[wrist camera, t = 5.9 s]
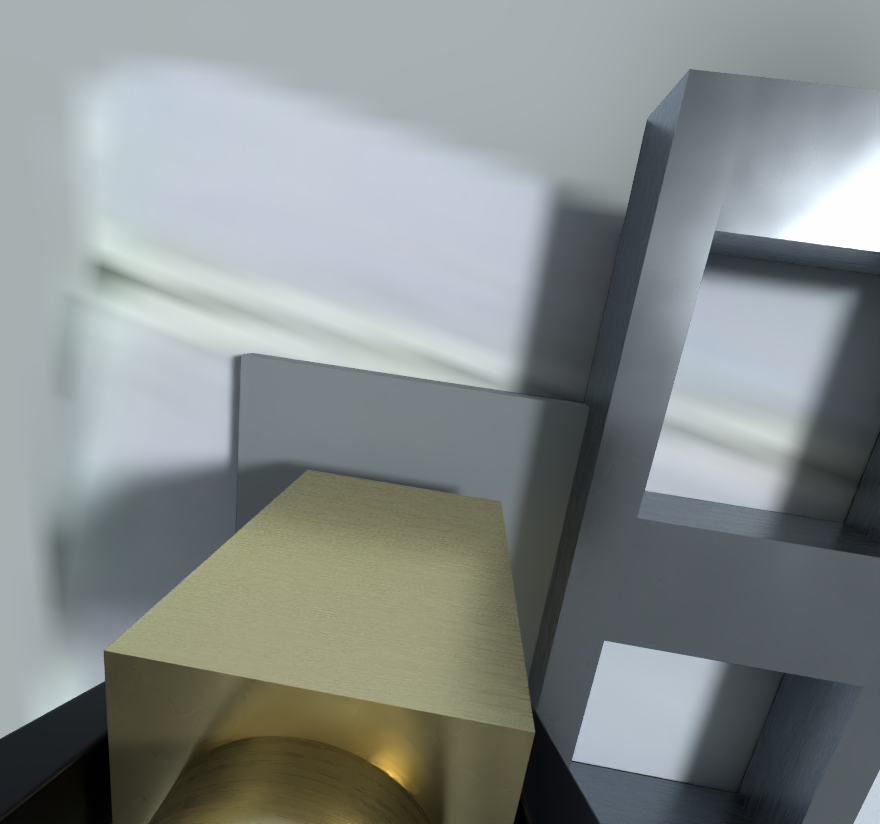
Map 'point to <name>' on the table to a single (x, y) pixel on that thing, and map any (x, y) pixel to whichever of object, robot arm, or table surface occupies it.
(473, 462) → the mat
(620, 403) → the rectangular frame with openings
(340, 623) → the brass cube with knob
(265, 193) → the table surface
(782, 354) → the table surface
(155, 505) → the table surface
